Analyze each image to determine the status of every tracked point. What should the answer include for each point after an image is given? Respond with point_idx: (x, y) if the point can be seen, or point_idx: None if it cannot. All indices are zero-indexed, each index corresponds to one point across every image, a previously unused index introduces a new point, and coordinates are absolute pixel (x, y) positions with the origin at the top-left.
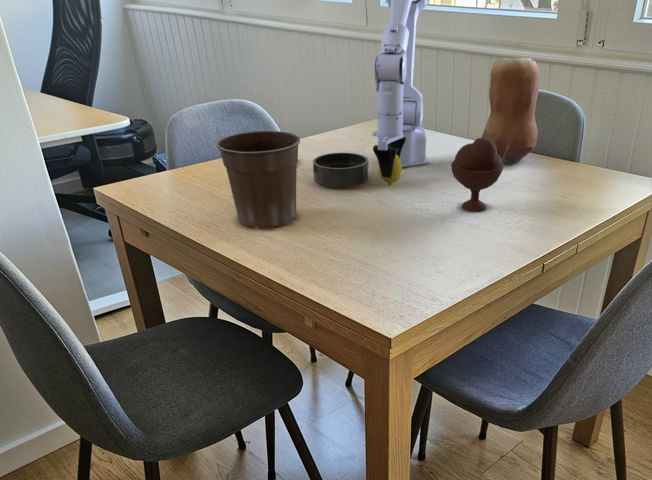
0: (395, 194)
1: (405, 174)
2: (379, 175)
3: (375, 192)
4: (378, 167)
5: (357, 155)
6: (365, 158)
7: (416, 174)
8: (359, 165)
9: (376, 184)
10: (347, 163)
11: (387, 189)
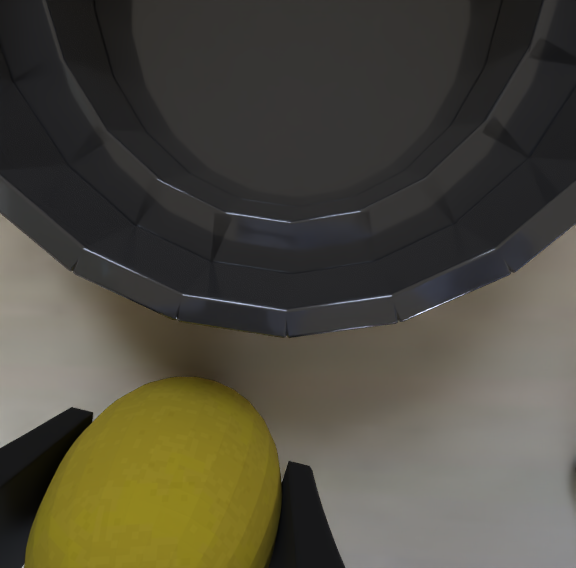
0: (30, 429)
1: (434, 506)
2: (150, 383)
3: (43, 312)
4: (124, 419)
5: (563, 183)
6: (366, 300)
7: (426, 561)
8: (47, 229)
9: None
10: (554, 36)
11: (117, 388)
